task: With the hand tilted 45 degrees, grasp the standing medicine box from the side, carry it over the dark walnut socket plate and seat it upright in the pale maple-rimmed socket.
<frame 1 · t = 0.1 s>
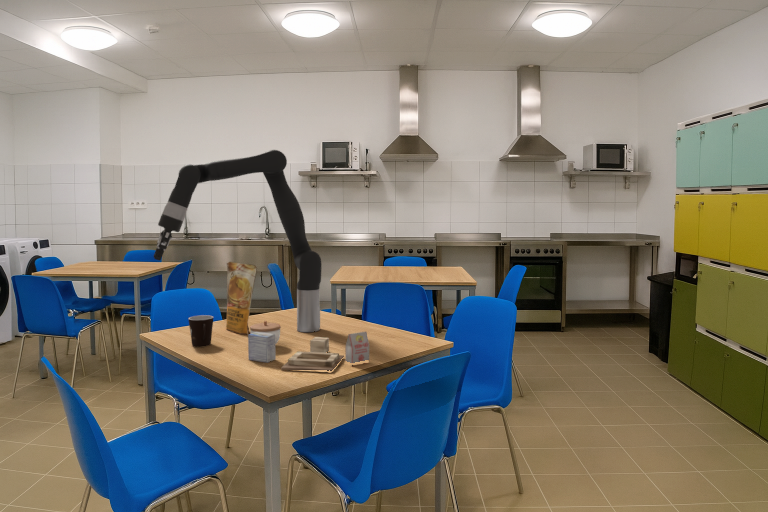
hand: (156, 258, 177), 31 cm above the table, tool tilted 20°, fingers open, 8 cm apart
coffee mug: (200, 346, 178), on the table
white paper bag: (357, 363, 159), on the table
lidded jar: (265, 347, 178), on the table
pancake mix bag: (239, 331, 203), on the table
socket plate: (314, 364, 157), on the table
medicine box: (262, 360, 162), on the table
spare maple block: (319, 353, 170), on the table
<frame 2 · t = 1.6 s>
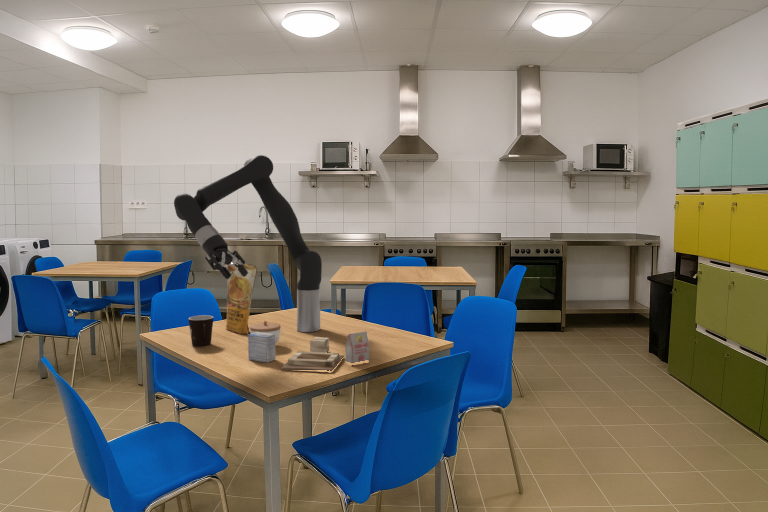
hand: (237, 276, 167), 27 cm above the table, tool tilted 45°, fingers open, 8 cm apart
nothing on the table moved.
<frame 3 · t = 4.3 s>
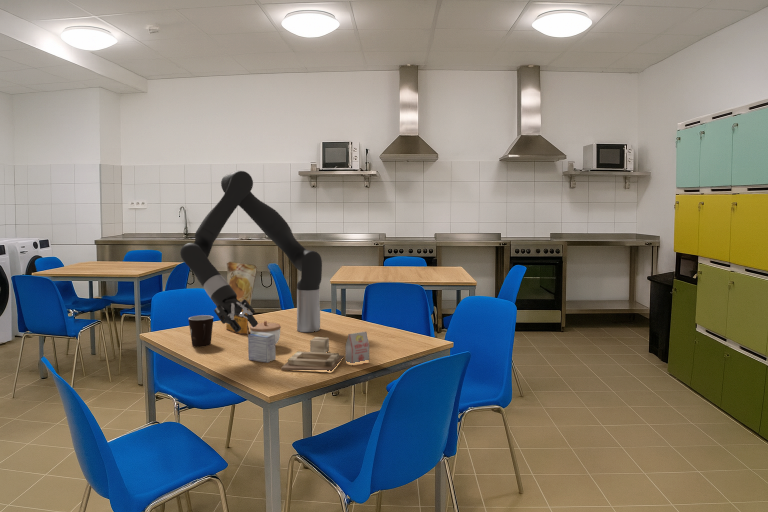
hand: (247, 328, 163), 10 cm above the table, tool tilted 45°, fingers open, 8 cm apart
nothing on the table moved.
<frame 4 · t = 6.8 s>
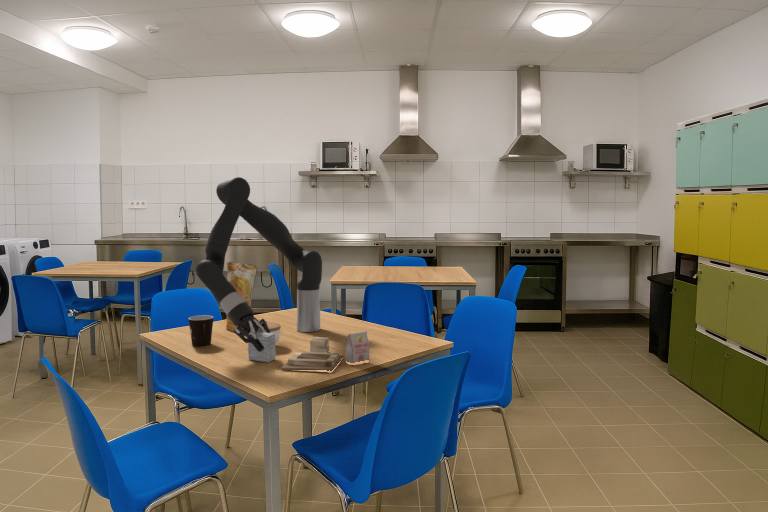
hand: (266, 347, 161), 4 cm above the table, tool tilted 45°, fingers closed on medicine box, 4 cm apart
medicine box: (262, 360, 162), on the table, touching gripper
everything else where it was.
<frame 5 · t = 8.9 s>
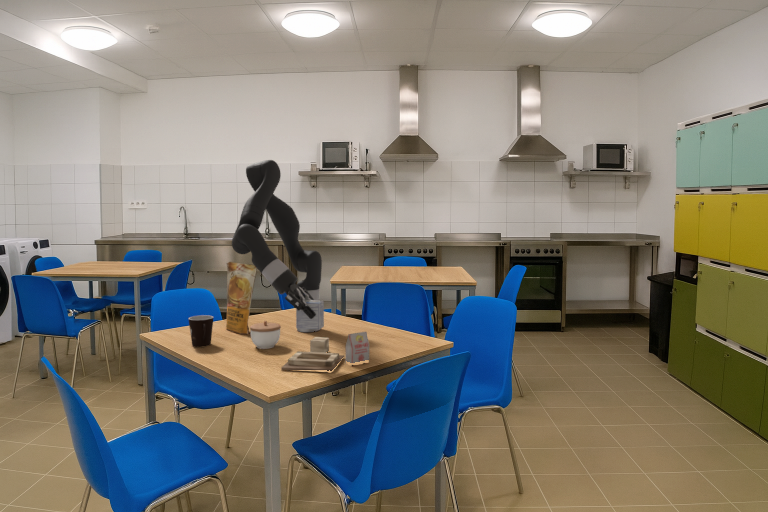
hand: (316, 315, 156), 16 cm above the table, tool tilted 45°, fingers closed on medicine box, 4 cm apart
medicine box: (310, 328, 157), point 12 cm above the table, touching gripper
everything else where it was.
when the fingers open (6 cm above the table, at t = 11.3 s): medicine box stays where it is, resting on socket plate.
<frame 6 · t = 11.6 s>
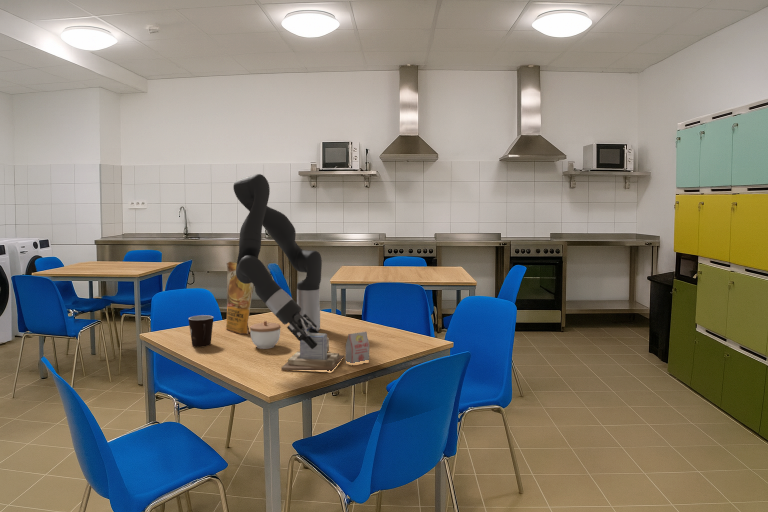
hand: (318, 343, 157), 7 cm above the table, tool tilted 45°, fingers open, 7 cm apart
medicine box: (313, 361, 158), point 1 cm above the table, touching socket plate
everything else where it was.
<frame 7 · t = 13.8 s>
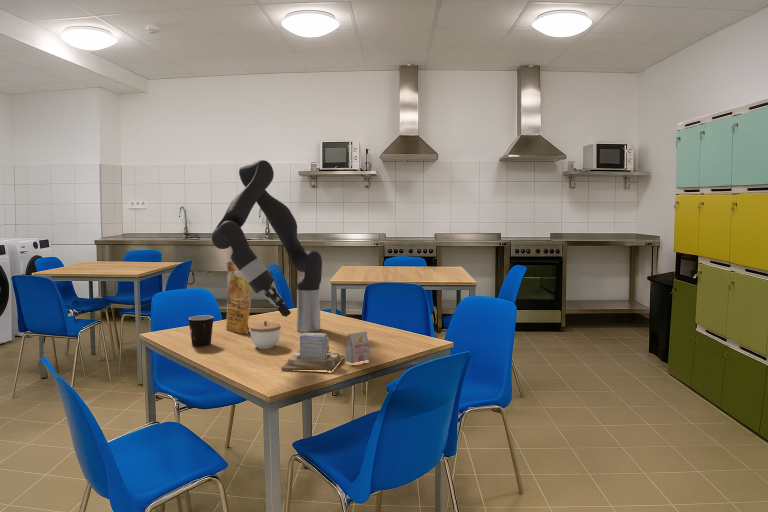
hand: (287, 314, 162), 15 cm above the table, tool tilted 35°, fingers open, 8 cm apart
nothing on the table moved.
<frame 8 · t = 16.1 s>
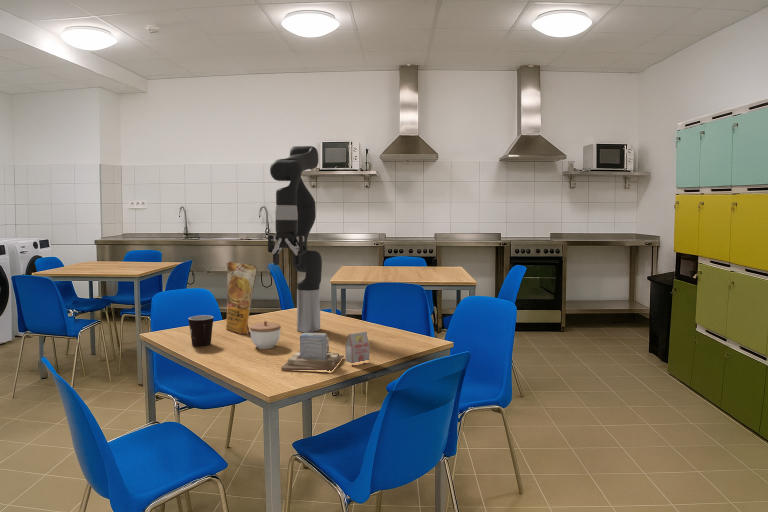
hand: (286, 265, 171), 30 cm above the table, tool pointing down, fingers open, 8 cm apart
nothing on the table moved.
at the end: medicine box 0.2 cm off-centre on the socket plate, point 0.8 cm above the socket plate's base; medicine box tilted 0°; the gripper is holding nothing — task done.
